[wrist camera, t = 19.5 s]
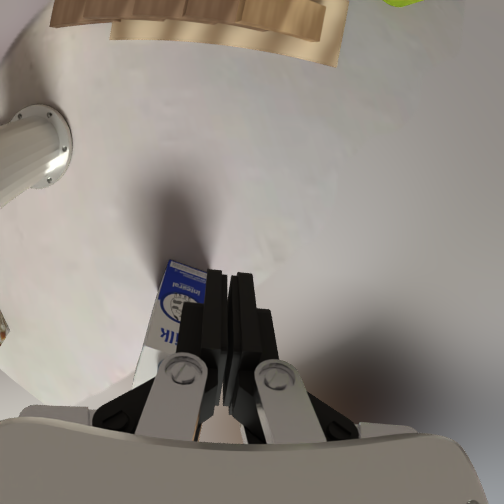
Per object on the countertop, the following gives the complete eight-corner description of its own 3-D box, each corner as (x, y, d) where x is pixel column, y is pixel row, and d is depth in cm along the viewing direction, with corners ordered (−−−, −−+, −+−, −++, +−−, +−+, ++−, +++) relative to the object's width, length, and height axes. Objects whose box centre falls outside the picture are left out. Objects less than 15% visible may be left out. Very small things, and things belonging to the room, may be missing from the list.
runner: (110, 39, 31) (109, 39, 31) (124, -27, 27) (123, -28, 26) (335, 67, 35) (336, 67, 35) (348, 1, 31) (349, 1, 30)
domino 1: (120, 21, 30) (56, 27, 29) (128, -12, 28) (63, -4, 27) (114, 19, 28) (49, 26, 27) (122, -16, 26) (56, -7, 25)
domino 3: (213, 25, 32) (131, 17, 28) (221, -10, 29) (139, -20, 25) (218, 23, 30) (132, 14, 26) (226, -13, 28) (141, -24, 24)
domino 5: (310, 42, 33) (234, 22, 29) (317, 8, 31) (242, -14, 27) (319, 41, 32) (241, 20, 28) (326, 6, 29) (249, -18, 25)
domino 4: (262, 32, 32) (181, 17, 28) (269, -3, 30) (189, -20, 26) (269, 30, 31) (185, 14, 27) (277, -6, 28) (193, -24, 24)
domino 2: (163, 21, 31) (84, 19, 27) (171, -13, 28) (92, -16, 24) (165, 19, 29) (82, 17, 25) (173, -17, 27) (91, -20, 23)
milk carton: (156, 291, 51) (129, 392, 33) (168, 258, 48) (140, 359, 30) (197, 305, 52) (187, 408, 35) (212, 274, 49) (205, 378, 32)
